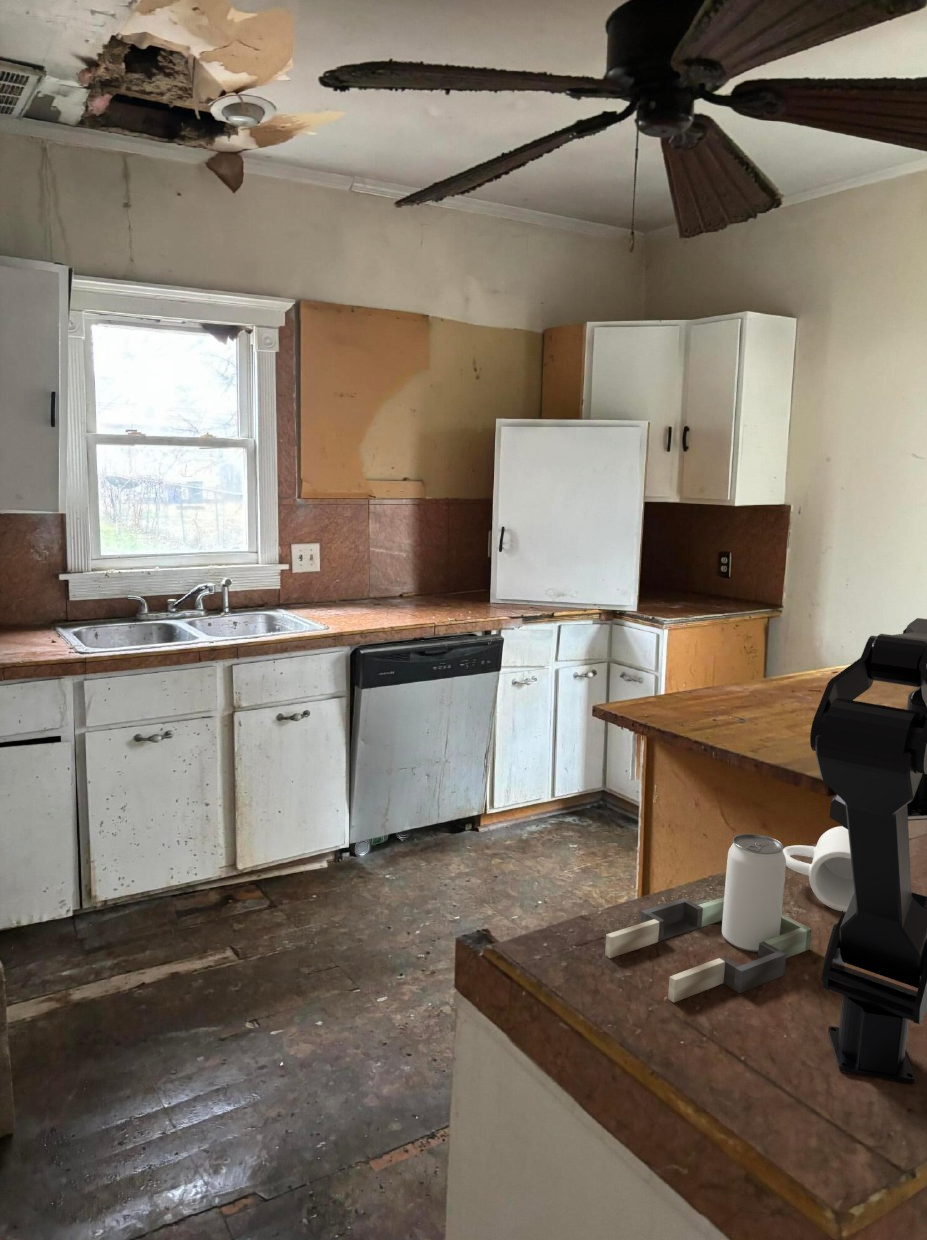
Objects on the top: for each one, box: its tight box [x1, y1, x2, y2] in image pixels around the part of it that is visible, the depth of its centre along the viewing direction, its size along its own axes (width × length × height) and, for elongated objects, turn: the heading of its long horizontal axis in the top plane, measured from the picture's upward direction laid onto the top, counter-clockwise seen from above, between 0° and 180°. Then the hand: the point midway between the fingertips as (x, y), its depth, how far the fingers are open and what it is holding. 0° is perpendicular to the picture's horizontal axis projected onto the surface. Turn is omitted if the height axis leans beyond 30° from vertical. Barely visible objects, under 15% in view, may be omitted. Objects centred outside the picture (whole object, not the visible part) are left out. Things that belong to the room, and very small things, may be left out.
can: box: [721, 833, 787, 953], centre depth 103 cm, size 6×6×12 cm
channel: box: [604, 896, 813, 1004], centre depth 101 cm, size 22×15×2 cm
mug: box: [783, 825, 854, 913], centre depth 117 cm, size 12×10×8 cm
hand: (917, 889), depth 91 cm, fingers open, 9 cm apart
